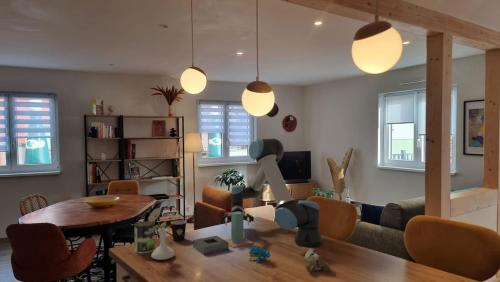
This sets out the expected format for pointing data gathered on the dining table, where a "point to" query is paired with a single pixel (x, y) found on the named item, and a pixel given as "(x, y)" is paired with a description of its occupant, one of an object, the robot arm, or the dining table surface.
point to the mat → (233, 245)
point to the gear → (258, 253)
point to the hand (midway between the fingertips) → (237, 222)
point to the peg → (237, 227)
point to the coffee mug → (178, 230)
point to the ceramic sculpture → (315, 261)
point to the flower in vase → (163, 249)
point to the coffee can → (144, 237)
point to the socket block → (210, 245)
